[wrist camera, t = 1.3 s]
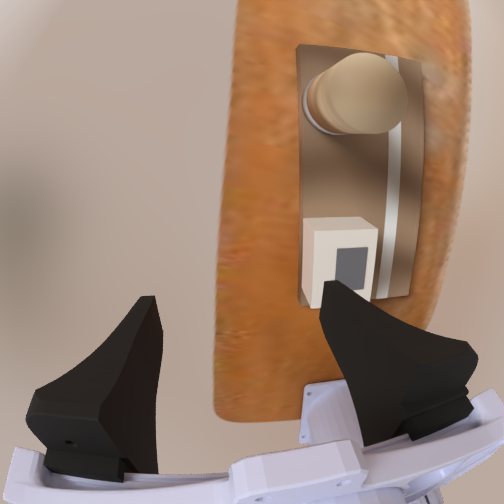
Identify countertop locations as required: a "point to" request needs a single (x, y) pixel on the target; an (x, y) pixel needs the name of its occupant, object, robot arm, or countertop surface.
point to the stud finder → (338, 255)
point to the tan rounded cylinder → (356, 97)
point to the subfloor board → (365, 173)
